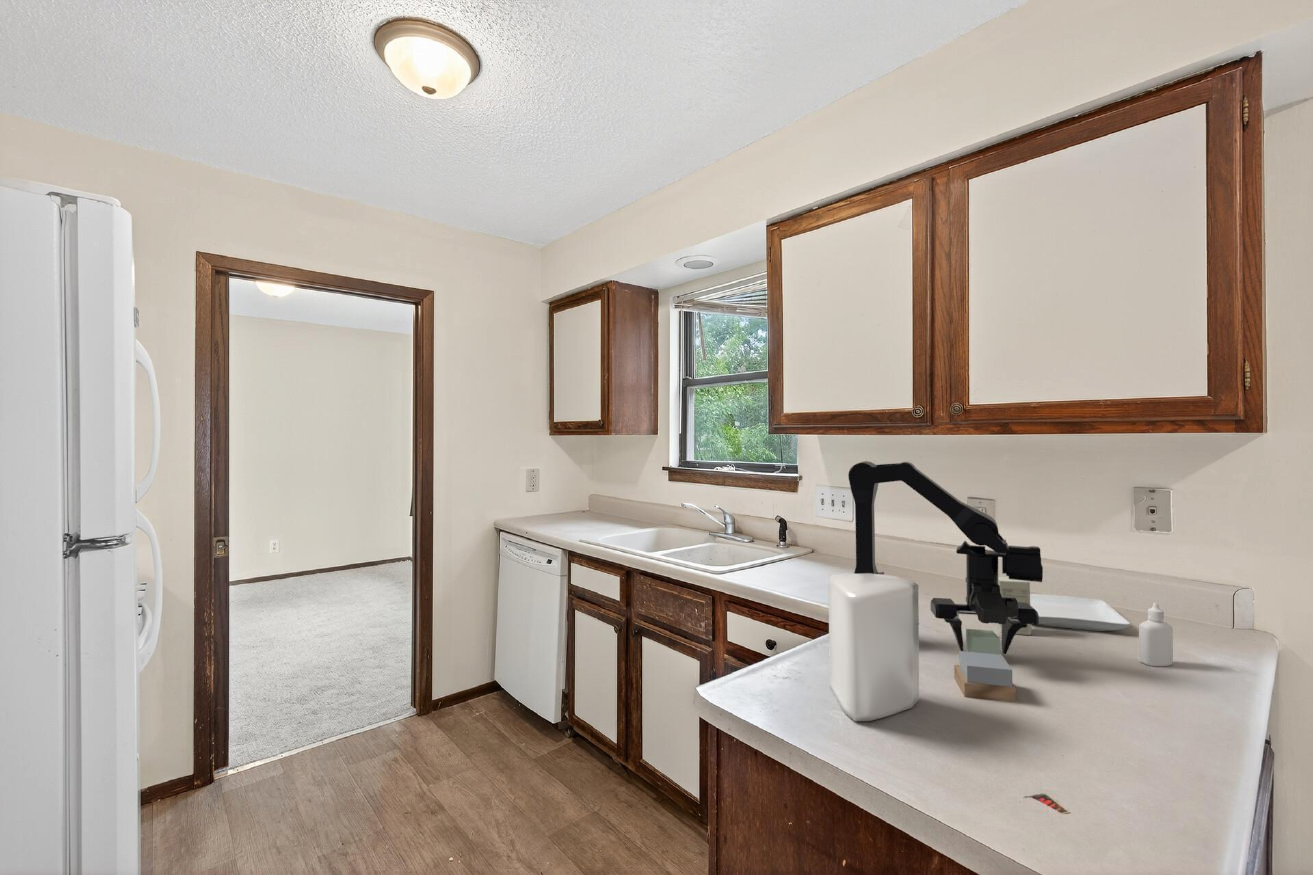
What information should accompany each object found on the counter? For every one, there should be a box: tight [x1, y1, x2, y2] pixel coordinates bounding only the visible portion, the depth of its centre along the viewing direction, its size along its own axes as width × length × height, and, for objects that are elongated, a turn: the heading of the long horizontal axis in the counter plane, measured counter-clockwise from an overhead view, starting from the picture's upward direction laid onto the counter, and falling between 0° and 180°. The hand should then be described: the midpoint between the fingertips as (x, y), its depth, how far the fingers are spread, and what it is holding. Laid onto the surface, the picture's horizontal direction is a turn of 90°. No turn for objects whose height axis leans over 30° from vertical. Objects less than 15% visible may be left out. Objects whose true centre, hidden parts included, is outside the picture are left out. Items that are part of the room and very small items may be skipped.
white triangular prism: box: [828, 572, 920, 722], centre depth 102 cm, size 15×14×22 cm
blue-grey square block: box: [958, 650, 1013, 687], centre depth 105 cm, size 7×7×3 cm
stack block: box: [965, 628, 1001, 655], centre depth 120 cm, size 5×5×5 cm
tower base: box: [953, 664, 1017, 703], centre depth 106 cm, size 8×8×3 cm
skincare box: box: [996, 576, 1032, 636], centre depth 135 cm, size 6×4×12 cm
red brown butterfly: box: [1019, 792, 1070, 815], centre depth 74 cm, size 5×5×1 cm
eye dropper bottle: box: [1138, 602, 1174, 667], centre depth 116 cm, size 4×6×12 cm
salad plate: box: [1030, 593, 1131, 632], centre depth 144 cm, size 21×21×3 cm
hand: (982, 652), depth 120 cm, fingers open, 8 cm apart
